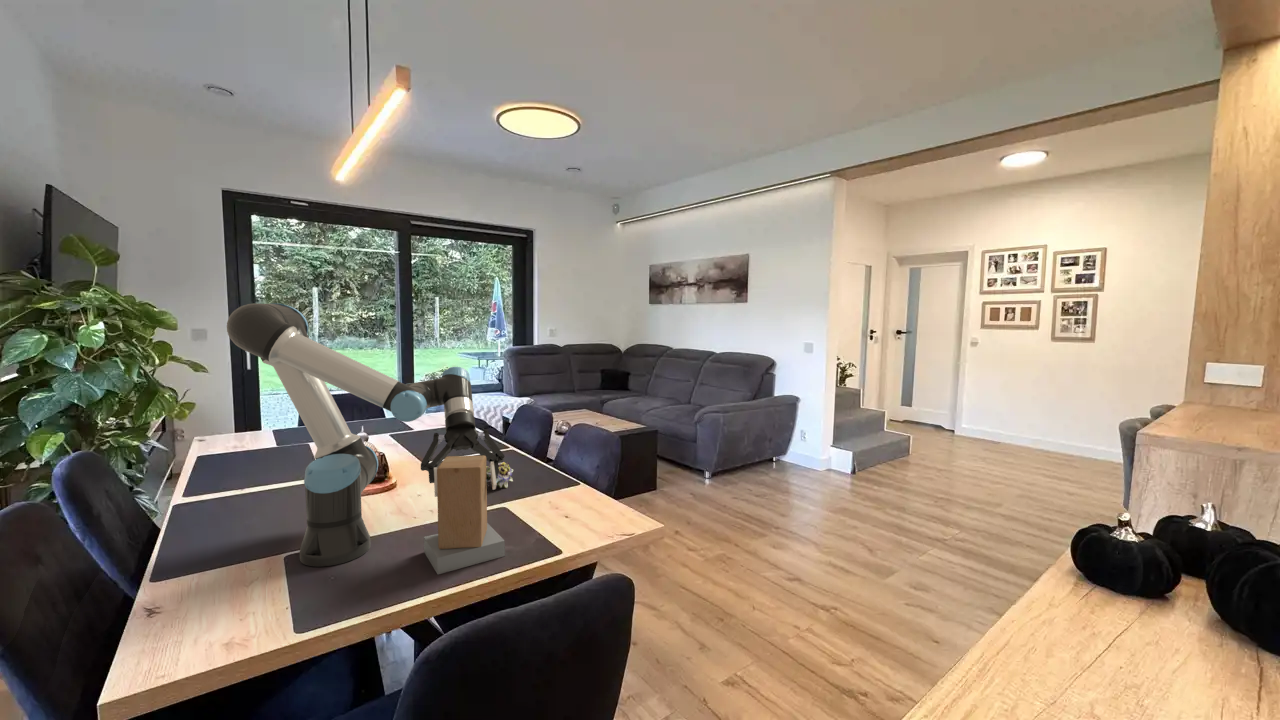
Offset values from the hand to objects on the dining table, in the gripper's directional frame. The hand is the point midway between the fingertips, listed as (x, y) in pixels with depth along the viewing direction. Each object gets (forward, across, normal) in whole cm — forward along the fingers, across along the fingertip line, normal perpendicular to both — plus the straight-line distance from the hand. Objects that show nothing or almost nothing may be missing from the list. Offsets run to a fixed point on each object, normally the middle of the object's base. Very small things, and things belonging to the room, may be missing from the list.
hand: (466, 490), depth 125 cm
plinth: (+12, +1, -12) cm, 16 cm away
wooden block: (+9, +1, -8) cm, 13 cm away
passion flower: (-21, -15, -46) cm, 52 cm away
